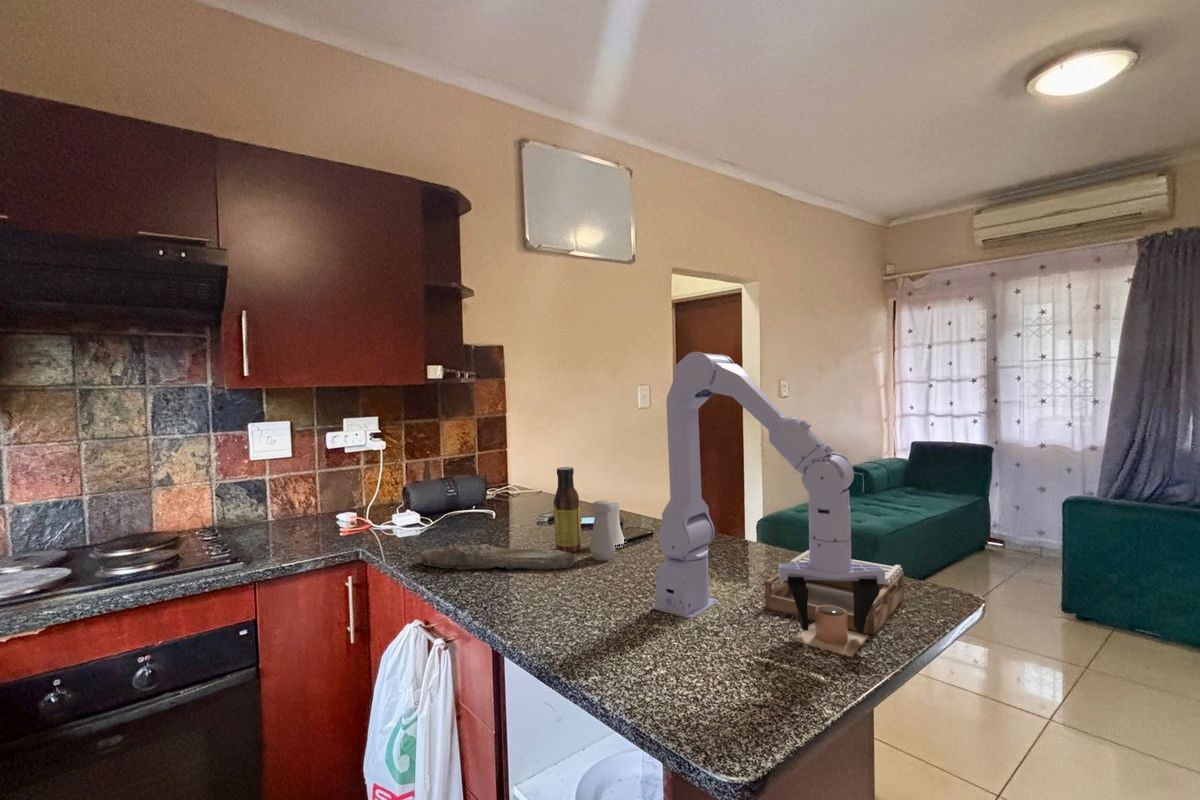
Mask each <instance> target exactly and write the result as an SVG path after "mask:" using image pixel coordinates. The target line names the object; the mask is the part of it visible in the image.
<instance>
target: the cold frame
mask: <svg viewBox="0 0 1200 800" xmlns="http://www.w3.org/2000/svg"><path fill="white" fill-rule="evenodd" d="M904 578H905V576H904V571H902V572H901V573H899V575H898V576H897V578H896V579H894V581H893V582H891V584H890V585H884V584H879V583H877V585H878V586H879V587H880V591H879V595H878V596H877V598H876V599H875V601H874V602H873V604H872V606H871V608H870V611H869V613H868V616H867V619H866V622H865V627H864V632H863V633H862V634H866V635H871V636H875V634H876V633H877V632H878V631H879V630H880V629H881V628H882V626H883V624H884V623H885V622H886V621H887V620H888V619H889V617H890V616H891V615H892V614H893V612H894V611H896V609H897V607H898V606H899V604H901V603H902V602H903V600H904V599H905V583H904V582H905V580H904ZM777 580H780V578H779V576H778V572H777V573H776V574H774V575H773V576H771V577H769V578H768V579H766V580H765V581H764V600H765V601H764V603H765V605H764V606H765V609H767V610H771V611H774V612H775V611H776V612H779V613H783V614H787V615H791V616H794V617H799V614H798V610H797V606H796V603H795V600H794V598H793V595H792V593H791V590H790V588H789V586H788V584H787V582H786V581H785V580H783V581H784V582H782V583H781V584H779V585H778V586H776V587H775V588H773V589H772V584H773V583H775V582H776V581H777ZM804 581H805V582H806V587H807V588H808V602H807V613H808V620H811V621H815V608H816V607H818V606H821V605H831V606H837V607H840V608H843V609H845V610H846V611H847V613H848V630H850V631H854V632H858V631H857V630H856V628H855V627H854V596H853V587H852V581H841V580H804Z"/></svg>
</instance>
